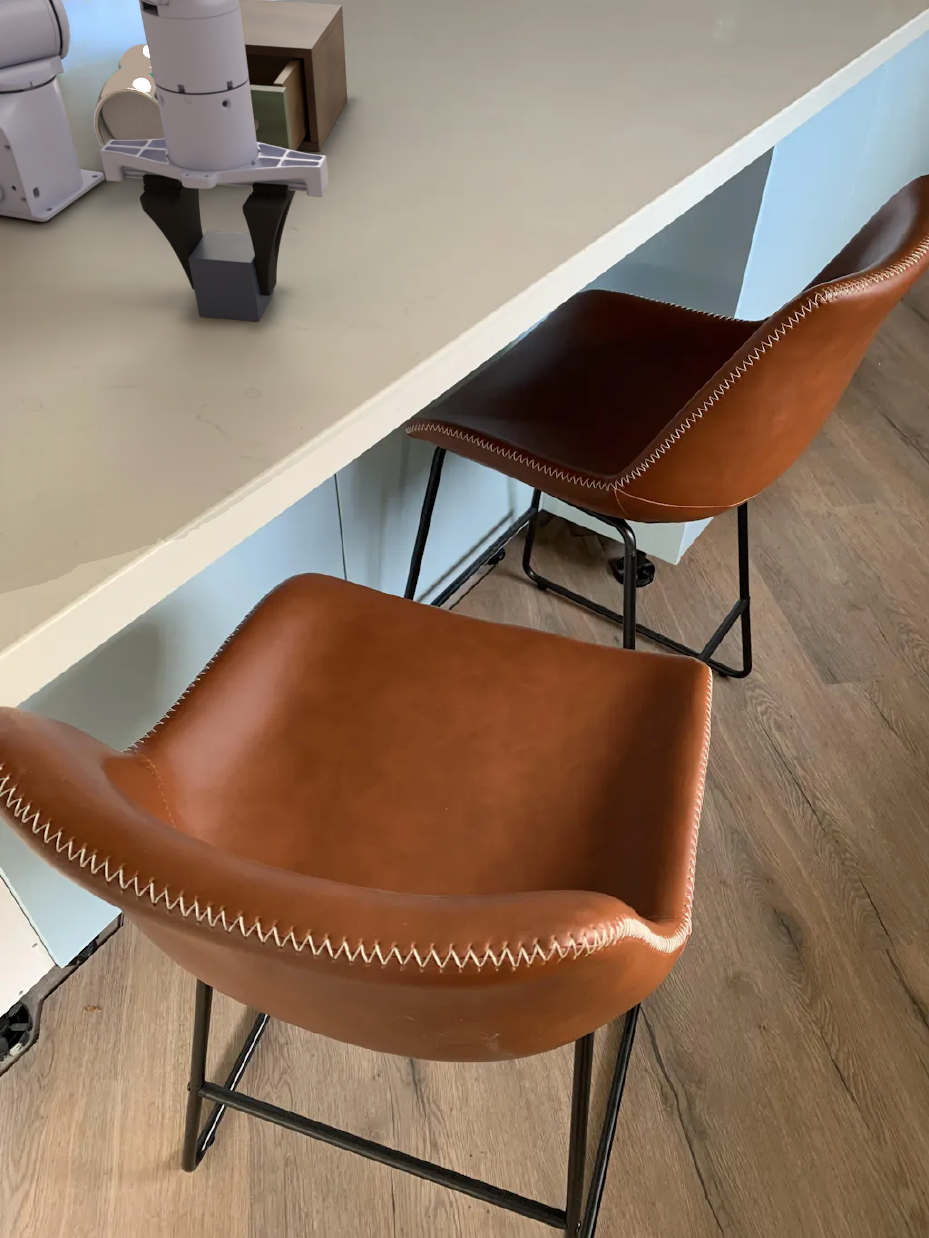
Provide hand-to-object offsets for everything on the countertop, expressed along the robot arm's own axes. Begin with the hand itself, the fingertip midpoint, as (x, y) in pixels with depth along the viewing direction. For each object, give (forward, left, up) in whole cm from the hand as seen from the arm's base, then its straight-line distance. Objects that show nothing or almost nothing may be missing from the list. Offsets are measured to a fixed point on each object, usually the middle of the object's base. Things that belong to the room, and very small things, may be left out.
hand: (234, 286), depth 68 cm
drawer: (+23, +10, -1) cm, 25 cm away
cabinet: (+34, +12, -1) cm, 36 cm away
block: (0, 0, -1) cm, 1 cm away
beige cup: (+32, +24, +2) cm, 40 cm away
